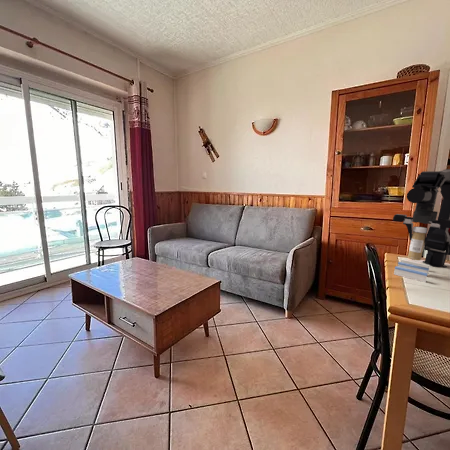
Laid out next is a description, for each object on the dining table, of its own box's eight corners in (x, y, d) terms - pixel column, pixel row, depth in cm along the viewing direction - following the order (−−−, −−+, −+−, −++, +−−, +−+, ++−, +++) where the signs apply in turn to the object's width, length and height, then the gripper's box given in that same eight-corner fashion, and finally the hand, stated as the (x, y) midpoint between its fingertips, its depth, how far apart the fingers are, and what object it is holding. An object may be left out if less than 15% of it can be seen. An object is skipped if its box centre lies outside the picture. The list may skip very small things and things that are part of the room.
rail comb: (400, 264, 110) (401, 257, 109) (428, 270, 103) (430, 263, 102) (393, 274, 96) (394, 267, 96) (425, 282, 90) (427, 274, 89)
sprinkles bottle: (422, 259, 98) (429, 227, 96) (418, 261, 96) (425, 228, 93) (409, 256, 102) (416, 225, 100) (405, 257, 100) (411, 226, 97)
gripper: (394, 201, 95) (386, 239, 98) (458, 206, 83) (448, 249, 85) (398, 201, 103) (391, 236, 106) (457, 205, 91) (448, 245, 94)
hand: (417, 241), depth 98 cm, fingers closed on sprinkles bottle, 4 cm apart
